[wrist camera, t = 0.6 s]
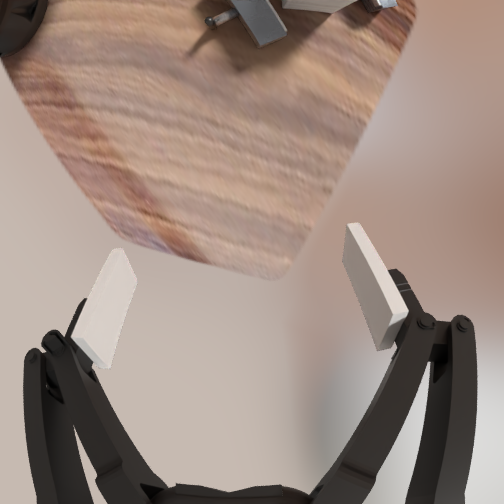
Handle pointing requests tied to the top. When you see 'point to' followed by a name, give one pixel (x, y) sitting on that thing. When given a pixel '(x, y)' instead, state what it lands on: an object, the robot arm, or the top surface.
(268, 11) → the vise
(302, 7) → the supplement box
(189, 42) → the top surface
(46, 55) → the top surface
